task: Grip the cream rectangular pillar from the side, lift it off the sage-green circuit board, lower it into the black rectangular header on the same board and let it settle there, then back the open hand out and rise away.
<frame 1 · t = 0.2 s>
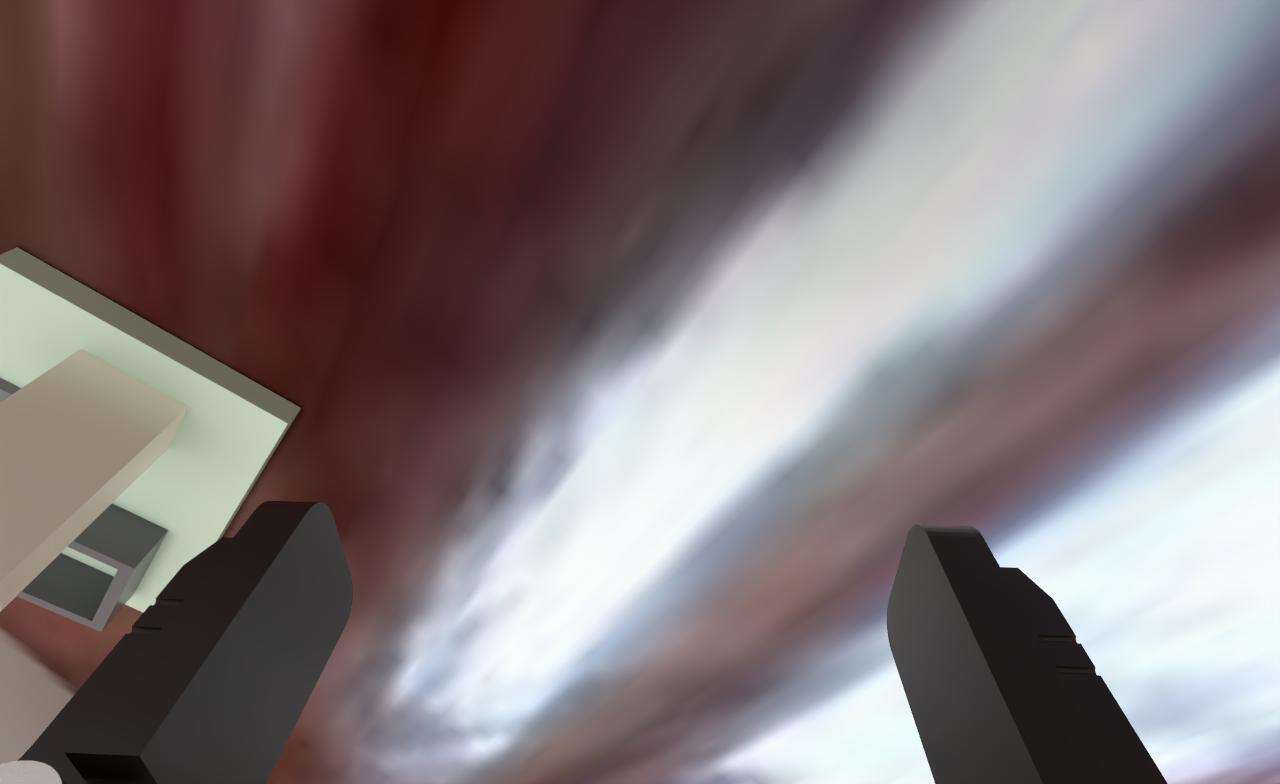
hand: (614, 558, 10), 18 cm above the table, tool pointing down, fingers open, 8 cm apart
board: (113, 458, 33), on the table
cream rectangular pillar: (126, 400, 29), point 1 cm above the table, touching board
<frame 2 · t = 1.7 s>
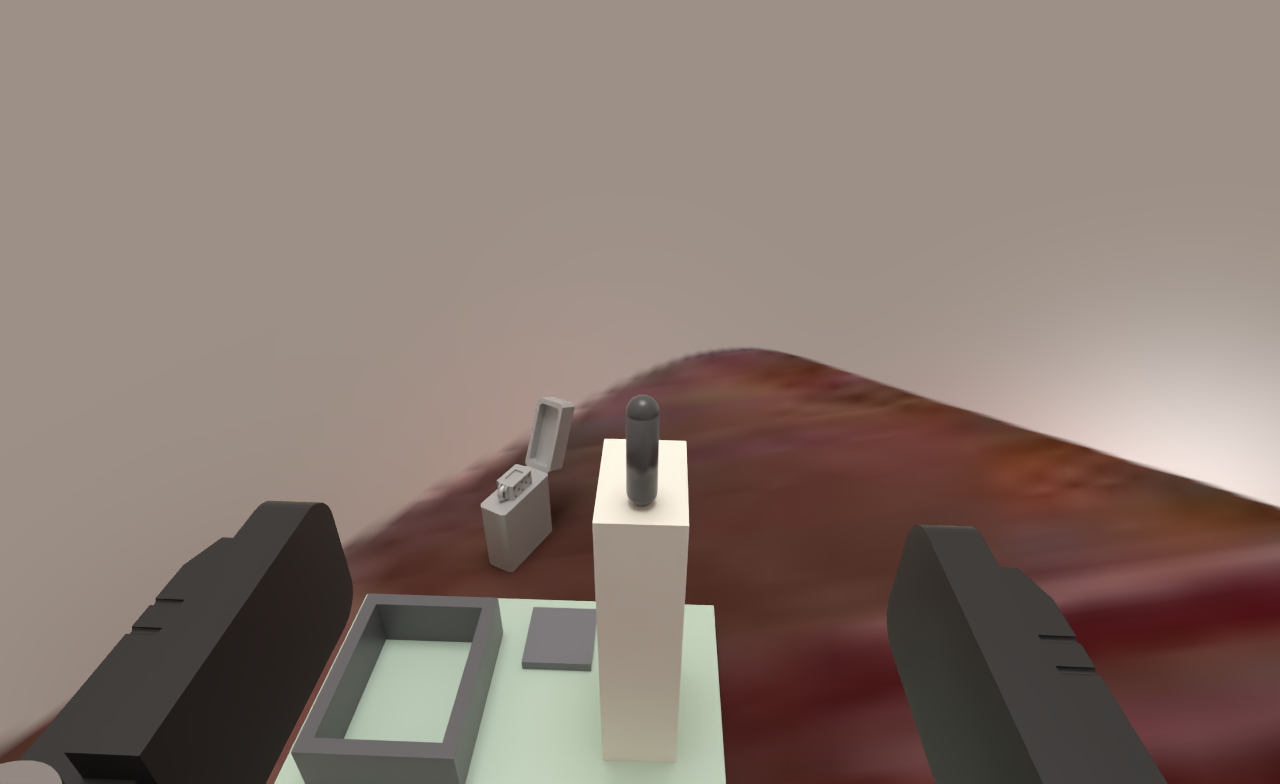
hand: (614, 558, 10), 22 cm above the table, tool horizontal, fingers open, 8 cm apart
board: (519, 722, 30), on the table
lighter: (536, 532, 41), on the table
cream rectangular pillar: (641, 711, 30), point 1 cm above the table, touching board
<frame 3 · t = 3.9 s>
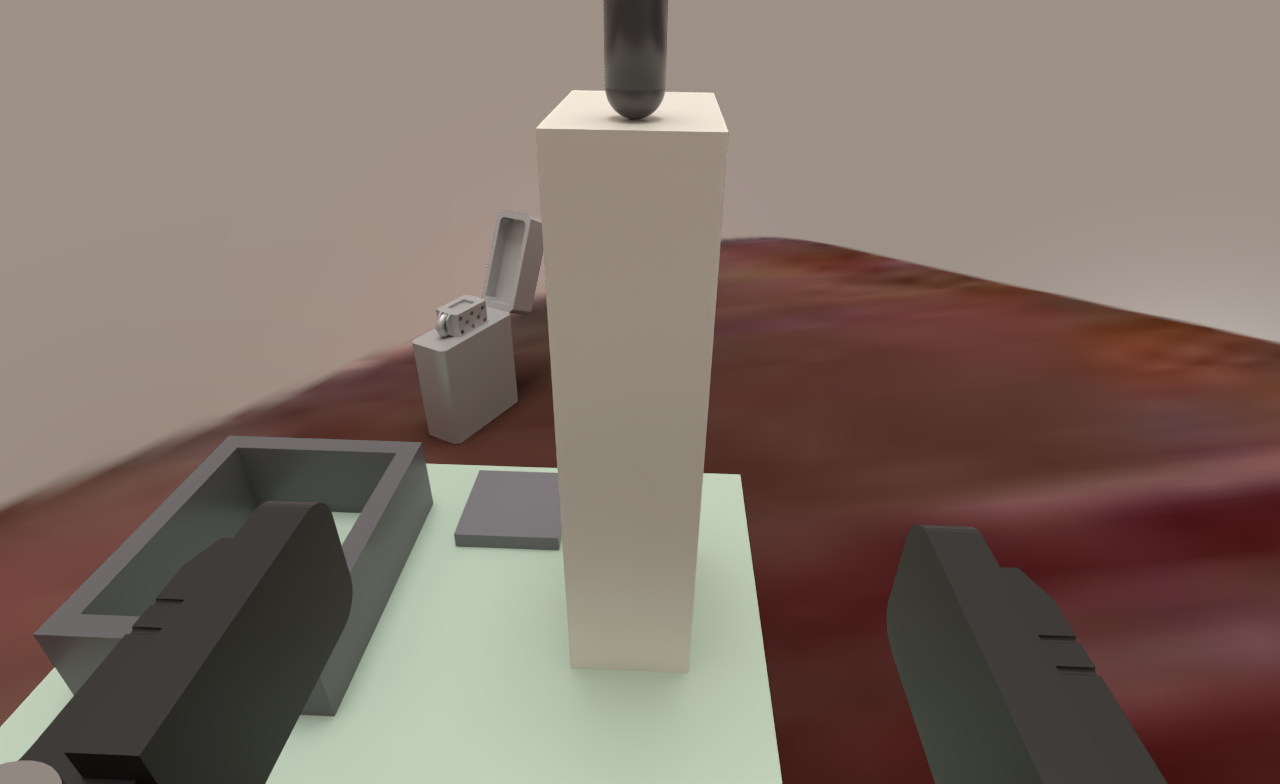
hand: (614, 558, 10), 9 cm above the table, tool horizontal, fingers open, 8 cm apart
board: (446, 622, 20), on the table
lighter: (497, 404, 31), on the table
cream rectangular pillar: (633, 601, 19), point 1 cm above the table, touching board
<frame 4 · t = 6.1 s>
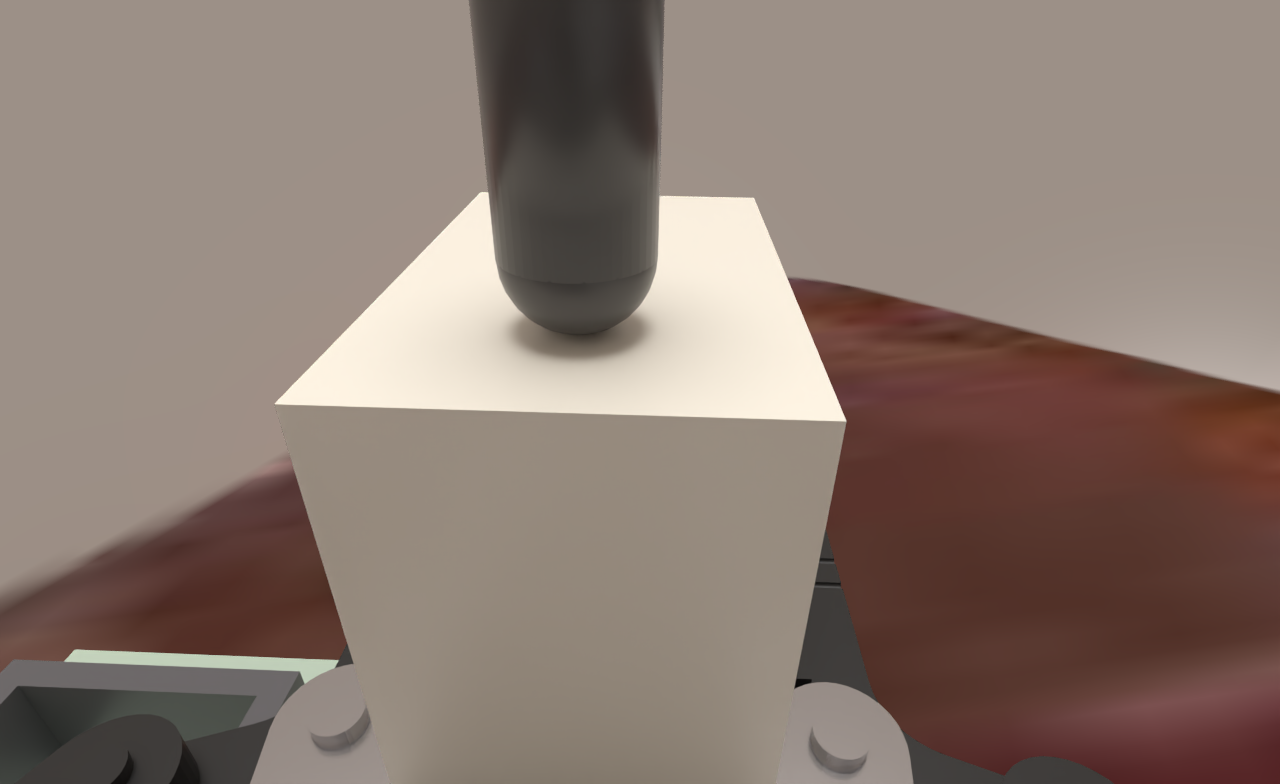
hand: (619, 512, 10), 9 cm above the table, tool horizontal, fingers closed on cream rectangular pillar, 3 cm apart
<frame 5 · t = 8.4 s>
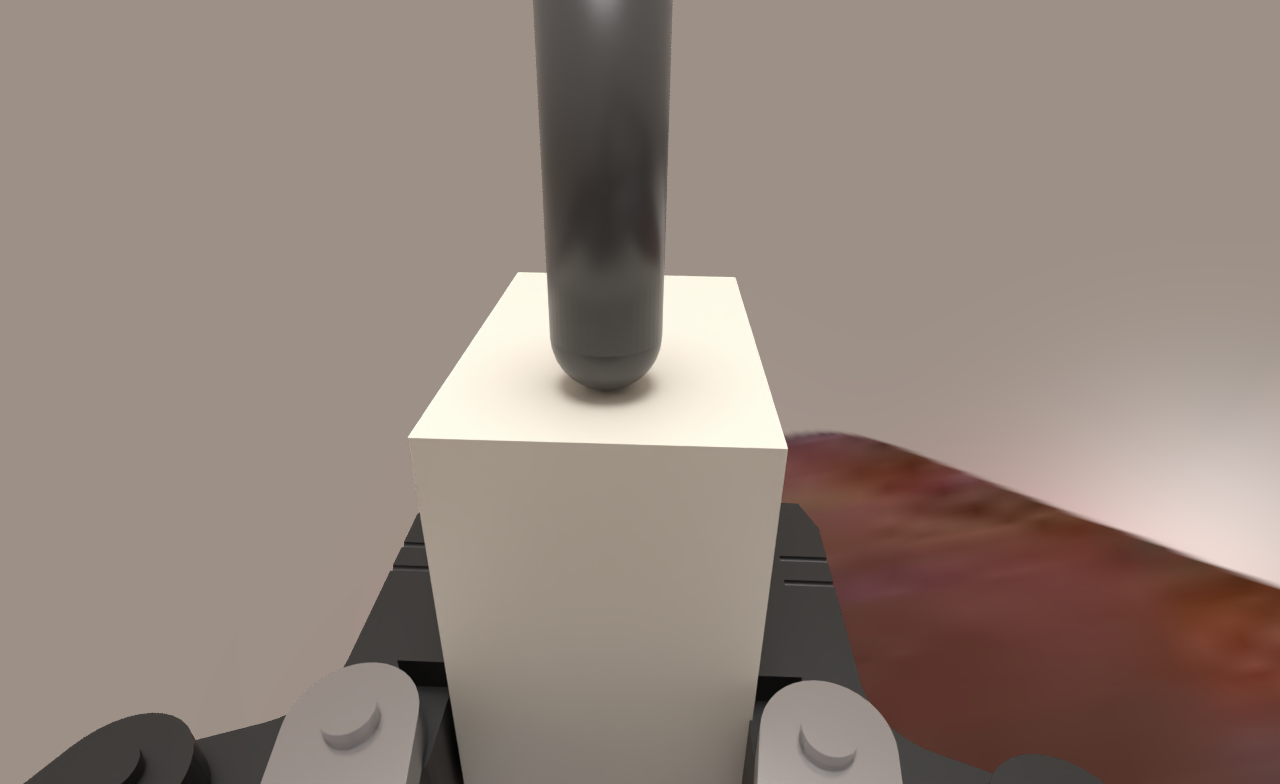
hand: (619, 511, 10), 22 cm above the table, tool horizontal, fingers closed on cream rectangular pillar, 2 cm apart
when the fingers open (14 cm above the table, at t = 10.5 s): cream rectangular pillar drops 1 cm, resting on board.
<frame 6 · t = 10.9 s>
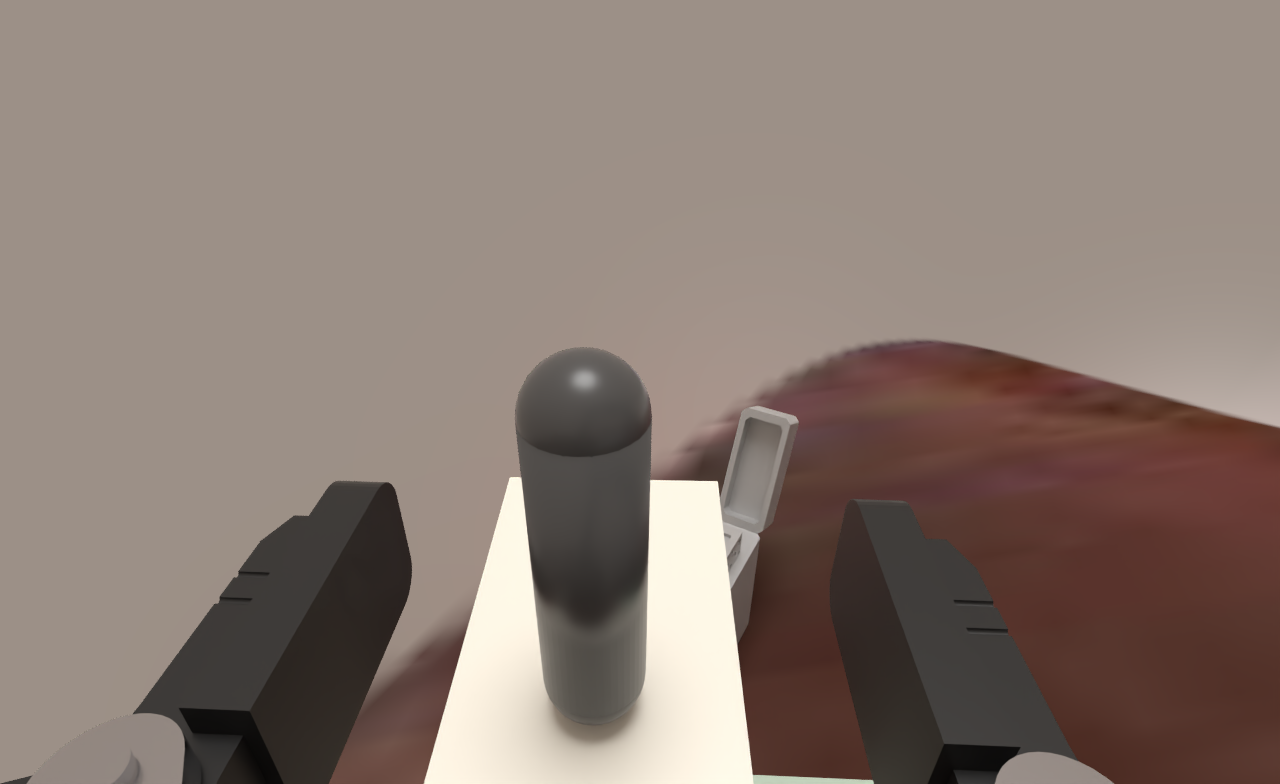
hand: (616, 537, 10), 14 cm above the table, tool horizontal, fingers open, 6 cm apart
lighter: (722, 625, 25), on the table
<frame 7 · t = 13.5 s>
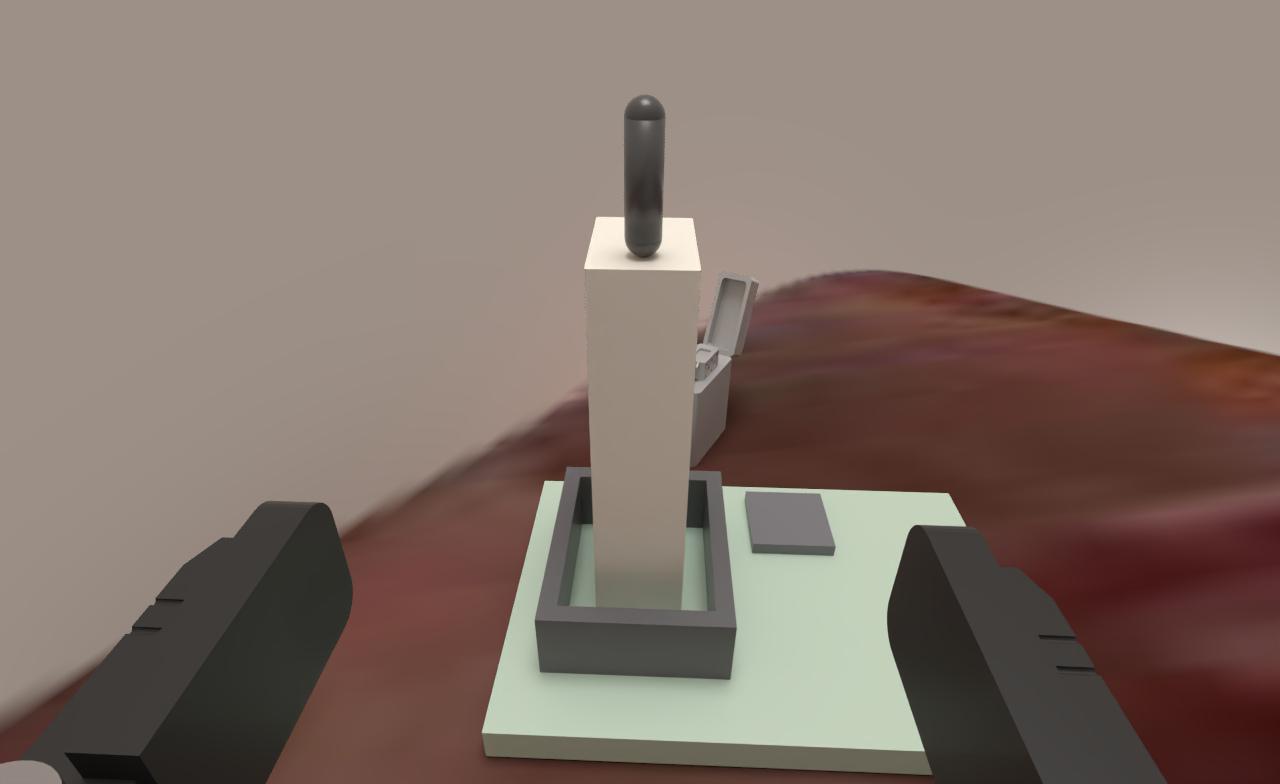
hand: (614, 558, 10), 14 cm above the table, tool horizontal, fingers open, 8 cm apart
board: (757, 612, 26), on the table
lighter: (707, 431, 37), on the table
cream rectangular pillar: (639, 569, 26), point 1 cm above the table, touching board
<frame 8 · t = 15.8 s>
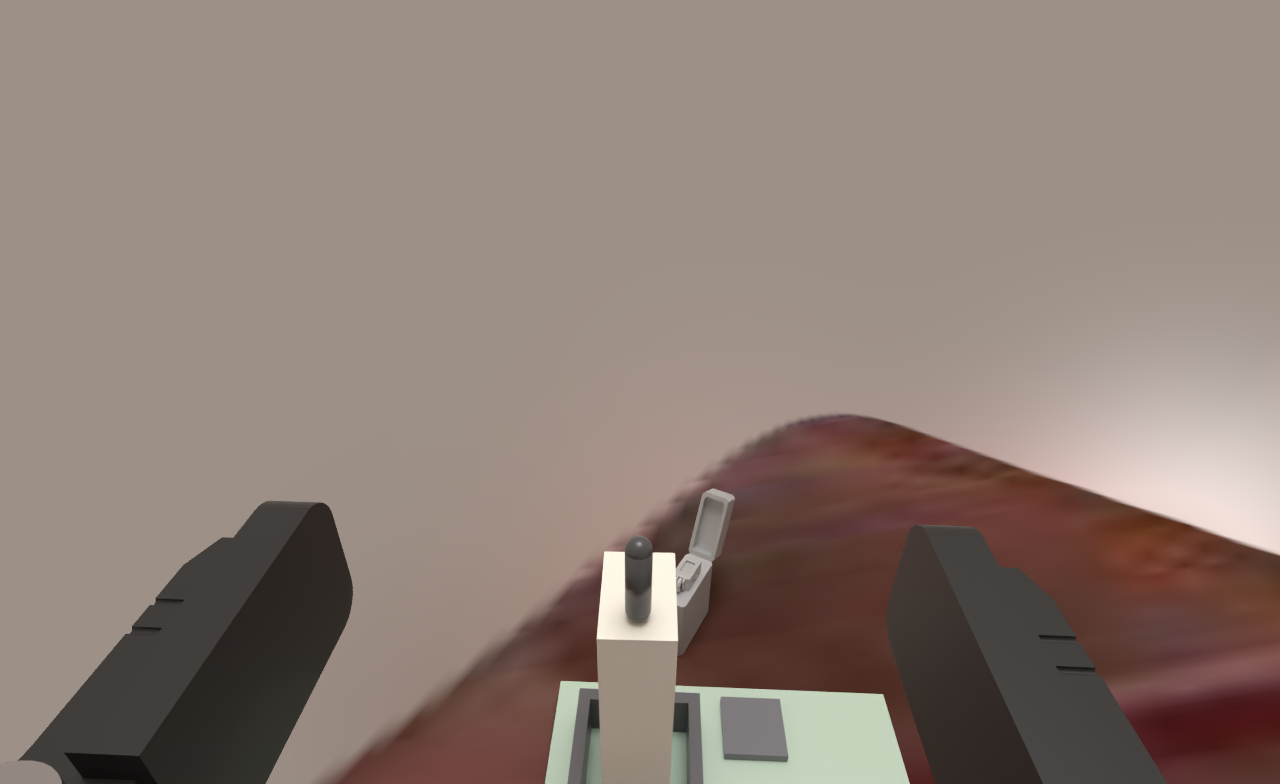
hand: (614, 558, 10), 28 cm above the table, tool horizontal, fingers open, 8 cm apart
lighter: (693, 613, 44), on the table
cream rectangular pillar: (636, 776, 34), point 1 cm above the table, touching board
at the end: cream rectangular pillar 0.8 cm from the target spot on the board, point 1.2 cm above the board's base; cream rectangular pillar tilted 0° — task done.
